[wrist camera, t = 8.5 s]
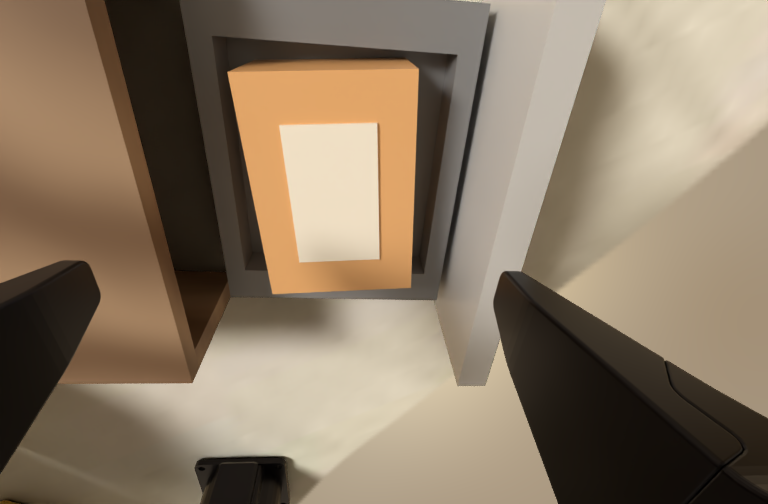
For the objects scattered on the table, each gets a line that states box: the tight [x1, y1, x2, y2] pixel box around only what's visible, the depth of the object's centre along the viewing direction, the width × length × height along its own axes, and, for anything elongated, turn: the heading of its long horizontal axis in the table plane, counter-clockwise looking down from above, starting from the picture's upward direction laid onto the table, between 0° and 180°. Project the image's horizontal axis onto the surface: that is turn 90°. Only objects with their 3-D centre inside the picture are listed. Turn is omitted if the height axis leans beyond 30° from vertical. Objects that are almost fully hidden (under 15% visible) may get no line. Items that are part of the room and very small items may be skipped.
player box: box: [0, 0, 231, 384], centre depth 13 cm, size 15×11×6 cm
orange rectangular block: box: [227, 58, 419, 294], centre depth 15 cm, size 8×6×4 cm
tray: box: [179, 0, 606, 386], centre depth 14 cm, size 15×11×6 cm
